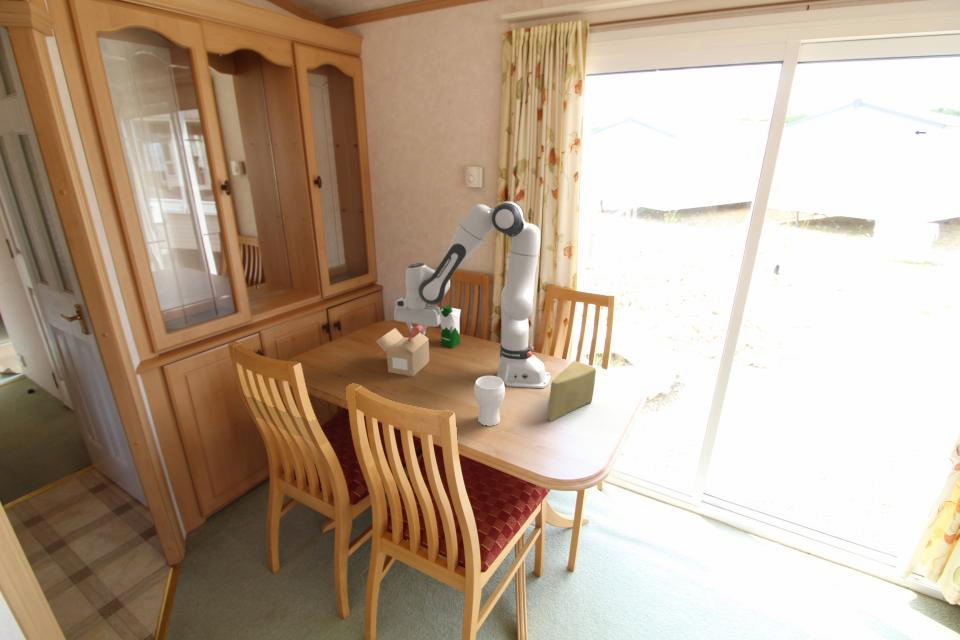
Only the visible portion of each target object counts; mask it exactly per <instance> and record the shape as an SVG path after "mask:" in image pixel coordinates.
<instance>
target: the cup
mask: <svg viewBox="0 0 960 640" xmlns="http://www.w3.org/2000/svg"><path fill="white" fill-rule="evenodd" d="M505 387H506V385H505V384H504V382H503V380H502V379H501V378H499V377H497V375H484V376H483V375H482V376H480V377H478V378H477V379H476V380H475V383H474V387H473V396H474V398H475V399H474V400H475V401H476V403H477V405H478V410H479V413H478V419H477V422H478V423H479V422H480V423H481V424H480V423H479V424H480V425H482V424H483V426H485V425H487V426H486V427H493V425H494V426H496V424H497V425H498V424H500V422H501V416H500V407H501V405H502V403H503V401H504V398H505V396H506V388H505Z"/></svg>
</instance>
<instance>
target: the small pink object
mask: <svg viewBox="0 0 960 640" xmlns="http://www.w3.org/2000/svg"><path fill="white" fill-rule="evenodd" d="M413 328H414V329H412V330H411V331H409V337H408V338H409V339H408V340H407V341H405V342H404V343H403V344H402V346H403V347H404V348H405V349H407V350H408V351H409V352H410V353H411V354H413V353H414V352H416V351H417V350H418V349H419V348H420V347H421V346H422V345H424V344H425V343H426V342H427V341H429V340H430V339H429V337H427V336H426V334H424V335H423V334H421V330H422V329H424V327H423V325H419V324H417V325H416V326H415V327H413Z"/></svg>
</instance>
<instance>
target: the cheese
mask: <svg viewBox="0 0 960 640" xmlns="http://www.w3.org/2000/svg"><path fill="white" fill-rule="evenodd" d="M596 372H597V369H596V367H594V366H592V365H589V364H585V363H583V362H579V361H577V360H576V361H575V360H574V361H572V362H571V363H570V364H569V365H568V366H567V367H565V368H564V369H563V370H562V372H560V373H559V374H558V375H557V376H555V378H554V379H553V380H552V381H551V382H550V391H549V399H548V405H547V406H548V407H547V420H548V421H549V422H553V421H556V420H557V419H559V418H561V417H562V416H565V415H567V414H568V413H570V412H573V411H575V410H576V409H578V408H581V407H583V406H585V405H588V404H590V403H592V402H593V395H594V389H595V384H596V383H595V382H596Z"/></svg>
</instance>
